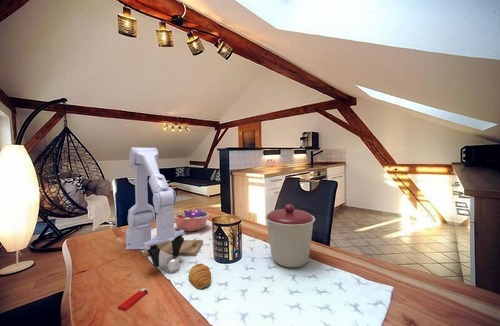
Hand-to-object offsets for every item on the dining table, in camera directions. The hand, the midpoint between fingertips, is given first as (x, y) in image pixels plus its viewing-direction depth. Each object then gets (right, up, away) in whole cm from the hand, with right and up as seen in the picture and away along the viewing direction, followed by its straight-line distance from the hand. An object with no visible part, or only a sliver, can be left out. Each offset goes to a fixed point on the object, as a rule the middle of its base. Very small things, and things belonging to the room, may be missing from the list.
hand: (166, 261), depth 74 cm
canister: (+45, -1, +3) cm, 45 cm away
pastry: (+14, -2, -8) cm, 16 cm away
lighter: (-2, -3, -17) cm, 17 cm away
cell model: (-2, -1, +38) cm, 38 cm away
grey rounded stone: (0, -2, 0) cm, 2 cm away
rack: (-2, -1, +14) cm, 14 cm away
